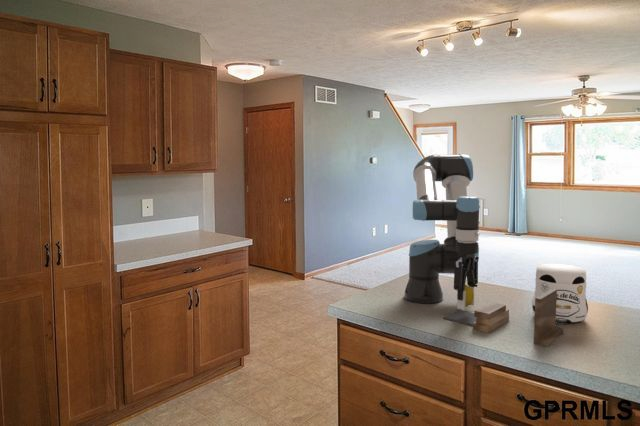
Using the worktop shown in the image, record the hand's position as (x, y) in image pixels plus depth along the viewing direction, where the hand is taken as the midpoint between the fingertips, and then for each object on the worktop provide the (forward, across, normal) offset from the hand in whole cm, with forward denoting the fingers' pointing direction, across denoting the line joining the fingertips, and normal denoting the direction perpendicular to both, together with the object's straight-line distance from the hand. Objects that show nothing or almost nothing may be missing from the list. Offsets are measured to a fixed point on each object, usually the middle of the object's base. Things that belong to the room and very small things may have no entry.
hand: (465, 306), depth 166 cm
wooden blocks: (+4, 0, -19) cm, 19 cm away
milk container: (+5, +21, -24) cm, 32 cm away
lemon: (0, 0, 0) cm, 0 cm away
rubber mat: (+4, 0, 0) cm, 4 cm away
